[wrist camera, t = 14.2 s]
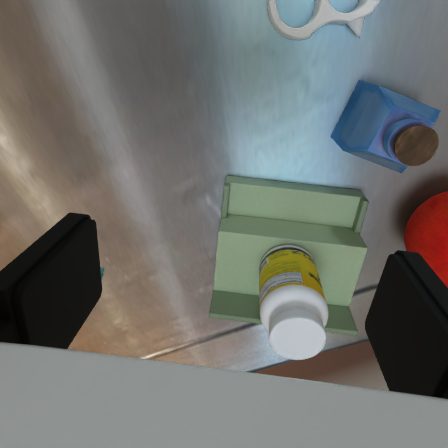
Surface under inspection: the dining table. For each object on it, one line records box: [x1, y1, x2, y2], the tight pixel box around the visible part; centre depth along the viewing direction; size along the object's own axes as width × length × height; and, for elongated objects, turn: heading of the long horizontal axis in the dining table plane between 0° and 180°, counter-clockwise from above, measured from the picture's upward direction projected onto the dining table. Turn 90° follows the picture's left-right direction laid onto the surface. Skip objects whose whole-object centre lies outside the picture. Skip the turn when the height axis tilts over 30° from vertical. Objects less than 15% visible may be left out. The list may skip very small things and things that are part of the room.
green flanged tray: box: [209, 176, 369, 336], centre depth 39 cm, size 13×16×11 cm
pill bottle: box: [259, 245, 328, 360], centre depth 33 cm, size 6×6×11 cm
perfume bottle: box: [331, 81, 440, 173], centre depth 32 cm, size 6×6×12 cm
